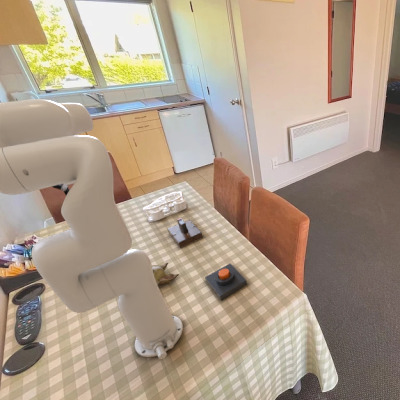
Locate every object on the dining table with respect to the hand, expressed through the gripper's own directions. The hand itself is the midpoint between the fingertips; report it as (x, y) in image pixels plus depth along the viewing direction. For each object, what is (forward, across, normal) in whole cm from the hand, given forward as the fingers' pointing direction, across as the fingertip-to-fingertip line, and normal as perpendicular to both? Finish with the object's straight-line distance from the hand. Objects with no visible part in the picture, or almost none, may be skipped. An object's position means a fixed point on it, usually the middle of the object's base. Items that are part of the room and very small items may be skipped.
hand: (90, 194), depth 92 cm
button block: (+31, +24, -40) cm, 56 cm away
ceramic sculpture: (+31, +5, -22) cm, 38 cm away
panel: (+31, +24, -1) cm, 39 cm away
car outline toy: (+31, +25, +25) cm, 47 cm away
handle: (+28, +24, -1) cm, 37 cm away
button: (+27, +24, -40) cm, 54 cm away
